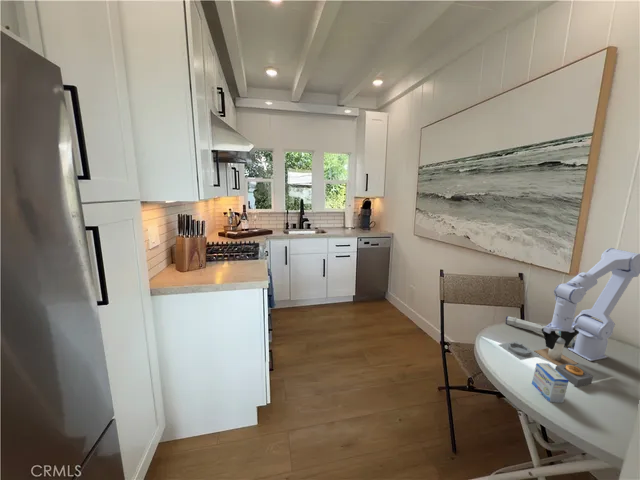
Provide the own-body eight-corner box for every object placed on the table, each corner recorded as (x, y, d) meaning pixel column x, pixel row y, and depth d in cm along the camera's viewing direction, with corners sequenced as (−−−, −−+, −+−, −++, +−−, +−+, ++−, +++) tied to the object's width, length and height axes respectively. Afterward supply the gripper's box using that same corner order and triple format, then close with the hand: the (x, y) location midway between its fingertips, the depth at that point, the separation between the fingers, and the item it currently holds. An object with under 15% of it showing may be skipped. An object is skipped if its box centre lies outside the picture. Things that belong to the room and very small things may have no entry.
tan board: (550, 348, 111) (550, 347, 111) (577, 364, 102) (578, 363, 102) (533, 351, 109) (533, 350, 109) (560, 368, 100) (560, 367, 100)
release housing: (568, 370, 99) (570, 363, 98) (591, 383, 92) (593, 376, 91) (554, 373, 97) (555, 366, 96) (576, 387, 90) (578, 379, 90)
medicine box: (530, 384, 92) (535, 362, 90) (544, 384, 92) (548, 362, 90) (549, 402, 84) (554, 379, 82) (563, 403, 84) (569, 379, 82)
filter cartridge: (552, 353, 108) (556, 335, 106) (563, 359, 104) (568, 341, 102) (544, 354, 107) (548, 336, 105) (555, 361, 103) (560, 342, 101)
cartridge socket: (516, 342, 116) (517, 339, 115) (539, 356, 106) (540, 353, 106) (497, 345, 113) (498, 342, 113) (520, 360, 104) (520, 357, 103)
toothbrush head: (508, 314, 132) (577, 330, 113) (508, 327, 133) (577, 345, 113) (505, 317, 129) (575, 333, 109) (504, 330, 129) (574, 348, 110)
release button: (569, 372, 97) (571, 363, 96) (584, 381, 93) (587, 372, 92) (560, 374, 96) (562, 366, 95) (574, 383, 92) (577, 374, 91)
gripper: (560, 322, 96) (553, 355, 99) (590, 317, 99) (582, 349, 102) (540, 313, 102) (534, 344, 105) (568, 309, 106) (562, 339, 109)
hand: (556, 346), depth 104 cm, fingers open, 7 cm apart
